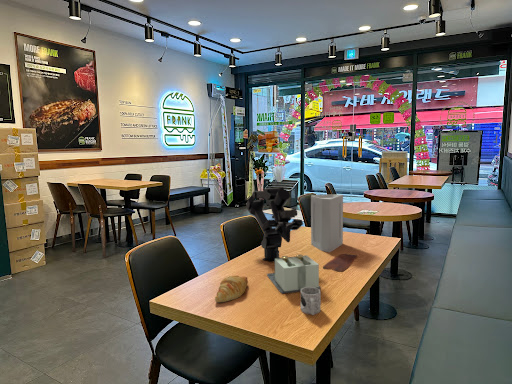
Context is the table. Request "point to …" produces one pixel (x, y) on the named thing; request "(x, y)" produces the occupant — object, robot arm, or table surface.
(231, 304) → the table surface
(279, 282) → the two-slot toaster
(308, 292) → the mug
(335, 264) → the wooden tablet
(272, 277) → the base plate
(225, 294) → the croissant
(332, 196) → the paper bag
